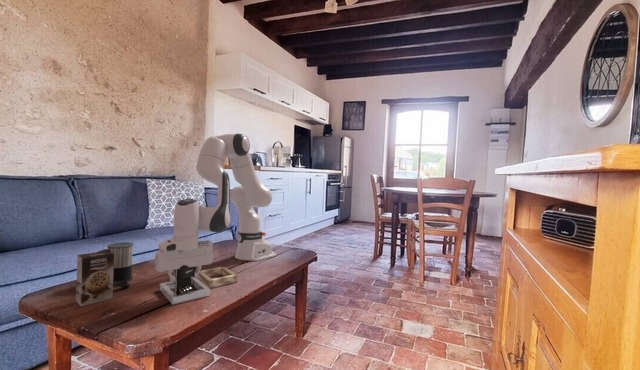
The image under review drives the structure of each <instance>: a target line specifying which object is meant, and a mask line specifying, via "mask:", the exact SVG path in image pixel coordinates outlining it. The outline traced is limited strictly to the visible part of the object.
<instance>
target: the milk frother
mask: <svg viewBox="0 0 640 370" xmlns="http://www.w3.org/2000/svg"><path fill="white" fill-rule="evenodd" d="M133 246H134V243H133V242H130V241H129V242H128V241H127V242H126V241H124V242H121V241H120V242H113V243H108V244H107V245H106V247H107V248H106V249H100V250H98V251H97V252H102V251H109V252H112V253H114V270H113V286H116V287H119V288H123V289H125V288H126V287H130V286H131V282H130V281H131V280H132V279H133V248H134V247H133Z"/></svg>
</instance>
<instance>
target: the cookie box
mask: <svg viewBox="0 0 640 370" xmlns="http://www.w3.org/2000/svg"><path fill="white" fill-rule="evenodd" d="M76 258H77V259H76V260H77V261H76V284H75V285H76V286H75V302H76V303H77V304H78V305H79V306H80V307H85V306H90V305H92V304H96V303H97V304H98V303H101V302H103V301H108V300H111V299H112V300H113V296H114V295H113V294H114V292H113V290H114V285H113V270H114V253H112V252H109V251H102V252H98V251H95V252H90V253H89V252H88V253H83V254H77V257H76Z"/></svg>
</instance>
